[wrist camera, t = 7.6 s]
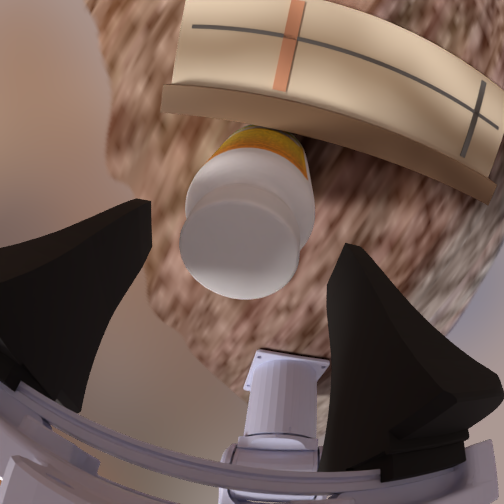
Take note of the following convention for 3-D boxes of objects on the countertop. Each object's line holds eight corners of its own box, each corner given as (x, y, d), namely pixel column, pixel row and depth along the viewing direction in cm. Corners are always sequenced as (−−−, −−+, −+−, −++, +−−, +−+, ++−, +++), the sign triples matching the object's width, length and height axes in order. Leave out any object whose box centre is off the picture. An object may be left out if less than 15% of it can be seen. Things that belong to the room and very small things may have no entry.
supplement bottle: (207, 138, 16) (130, 208, 8) (291, 110, 15) (293, 151, 7) (239, 211, 19) (201, 322, 11) (317, 190, 17) (335, 300, 10)
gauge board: (471, 190, 15) (488, 205, 13) (176, 107, 15) (160, 112, 13) (502, 95, 11) (523, 101, 9) (196, -10, 10) (182, -20, 9)
